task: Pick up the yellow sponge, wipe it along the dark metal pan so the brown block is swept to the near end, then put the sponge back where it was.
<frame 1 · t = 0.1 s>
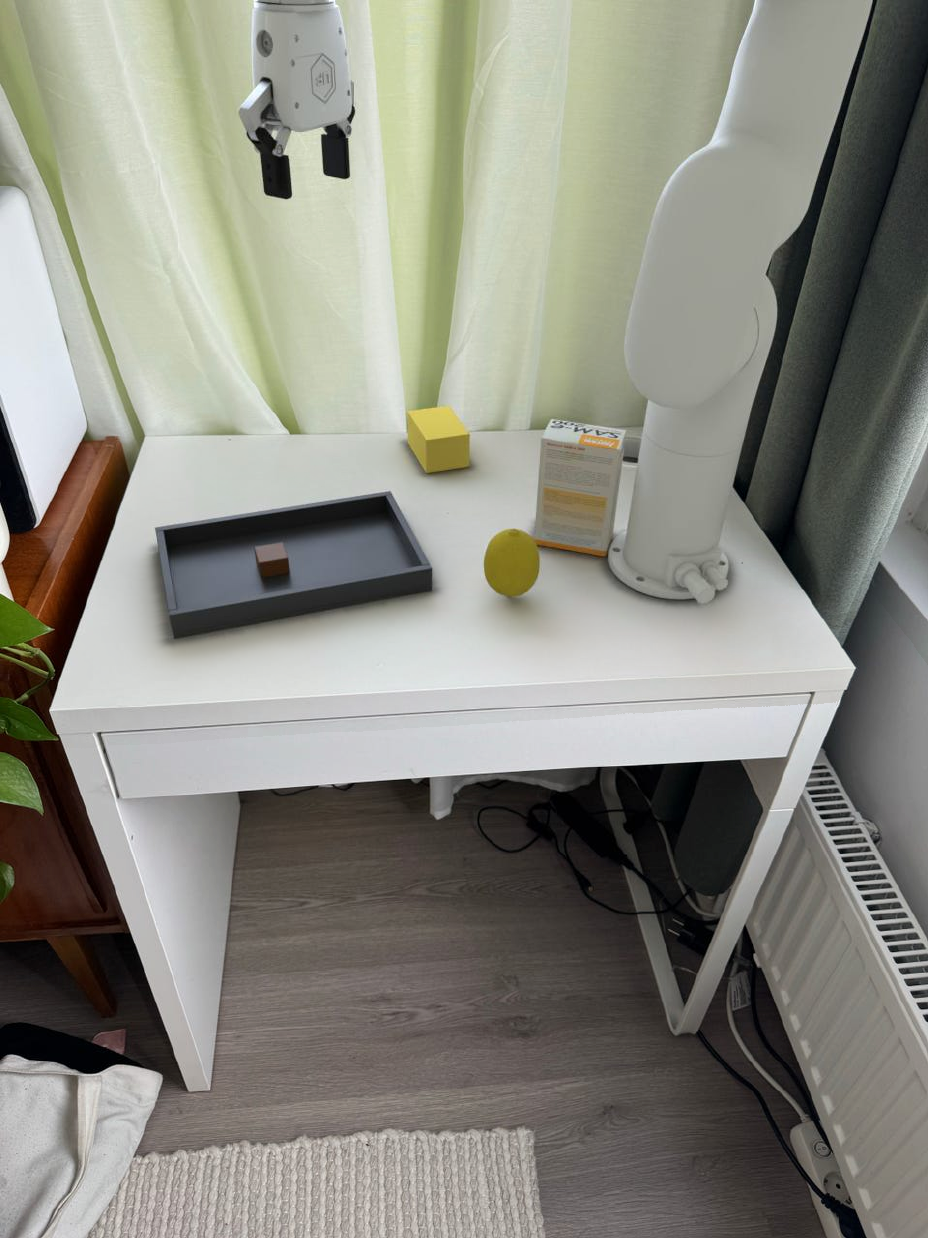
hand: (308, 186, 97), 31 cm above the table, tool pointing down, fingers open, 9 cm apart
brown block: (273, 568, 96), point 1 cm above the table, touching pan
supplement box: (572, 541, 102), on the table
pan: (292, 569, 97), on the table
lemon: (509, 597, 94), on the table
sponge: (437, 454, 117), on the table
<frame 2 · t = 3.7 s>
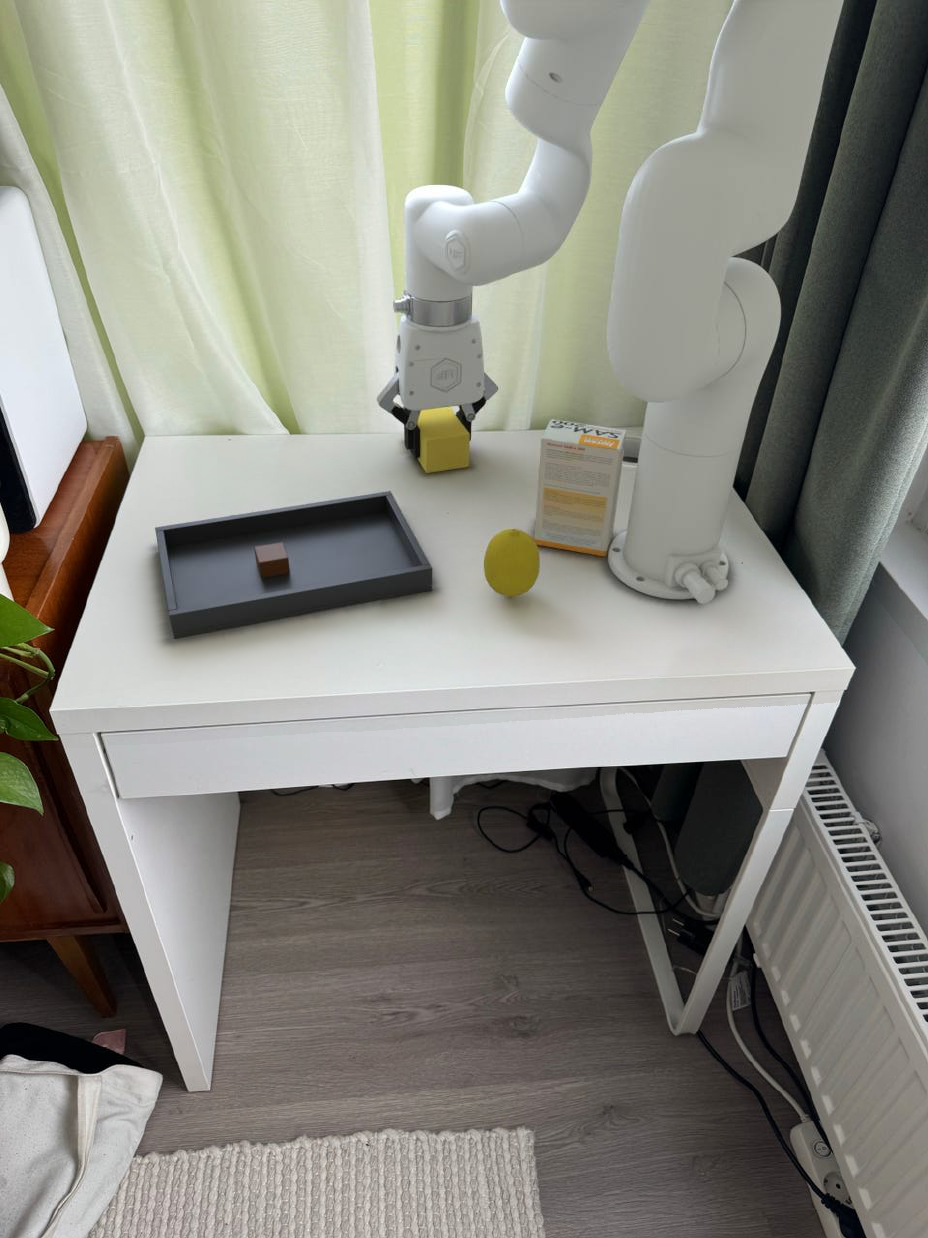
hand: (437, 448, 116), 1 cm above the table, tool pointing down, fingers closed on sponge, 5 cm apart
sponge: (437, 454, 117), on the table, touching gripper
everything else where it was.
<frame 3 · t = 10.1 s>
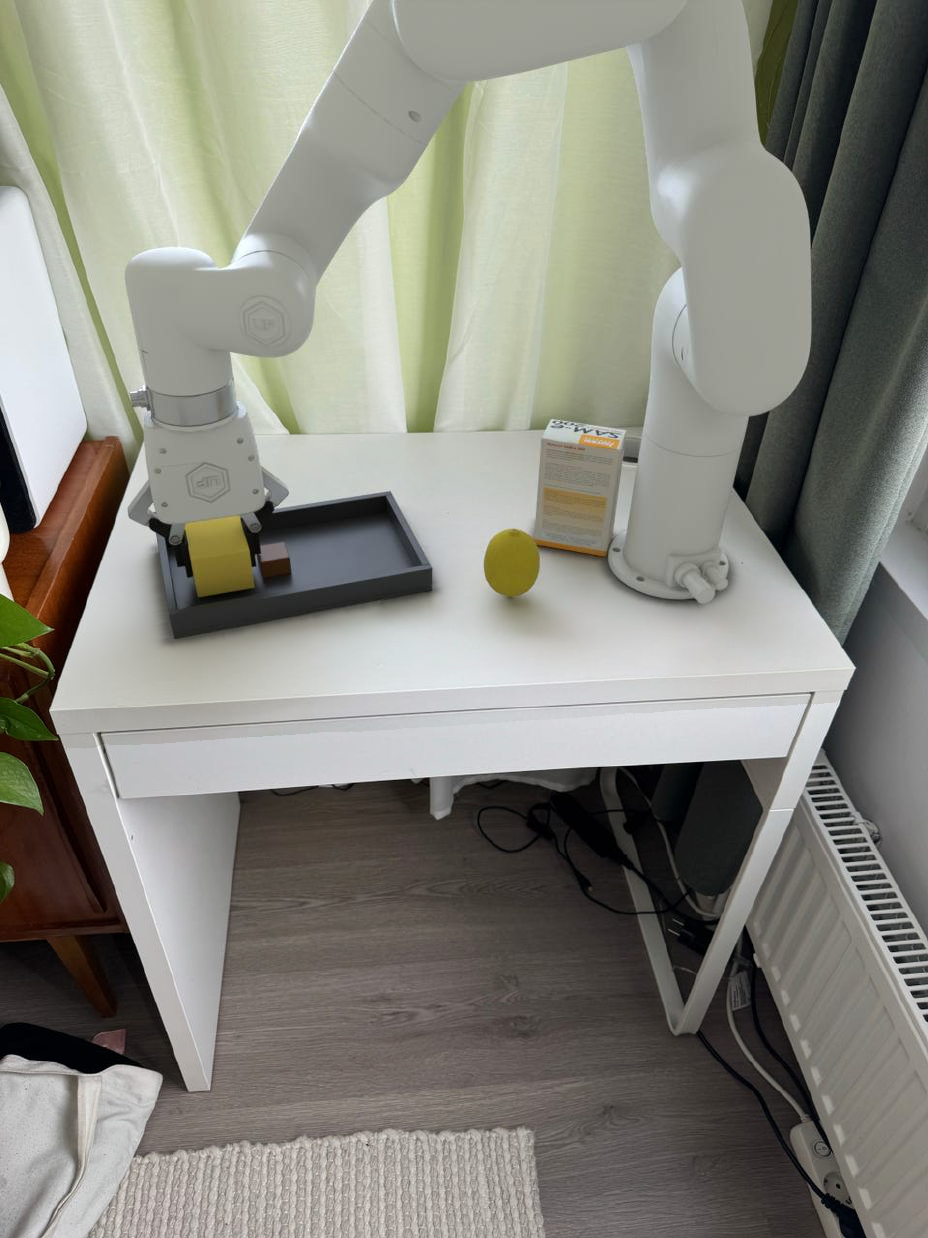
hand: (220, 563, 93), 2 cm above the table, tool pointing down, fingers closed on sponge, 5 cm apart
brown block: (274, 567, 96), point 1 cm above the table, touching gripper, pan
sponge: (221, 570, 94), point 1 cm above the table, touching gripper
everything else where it was.
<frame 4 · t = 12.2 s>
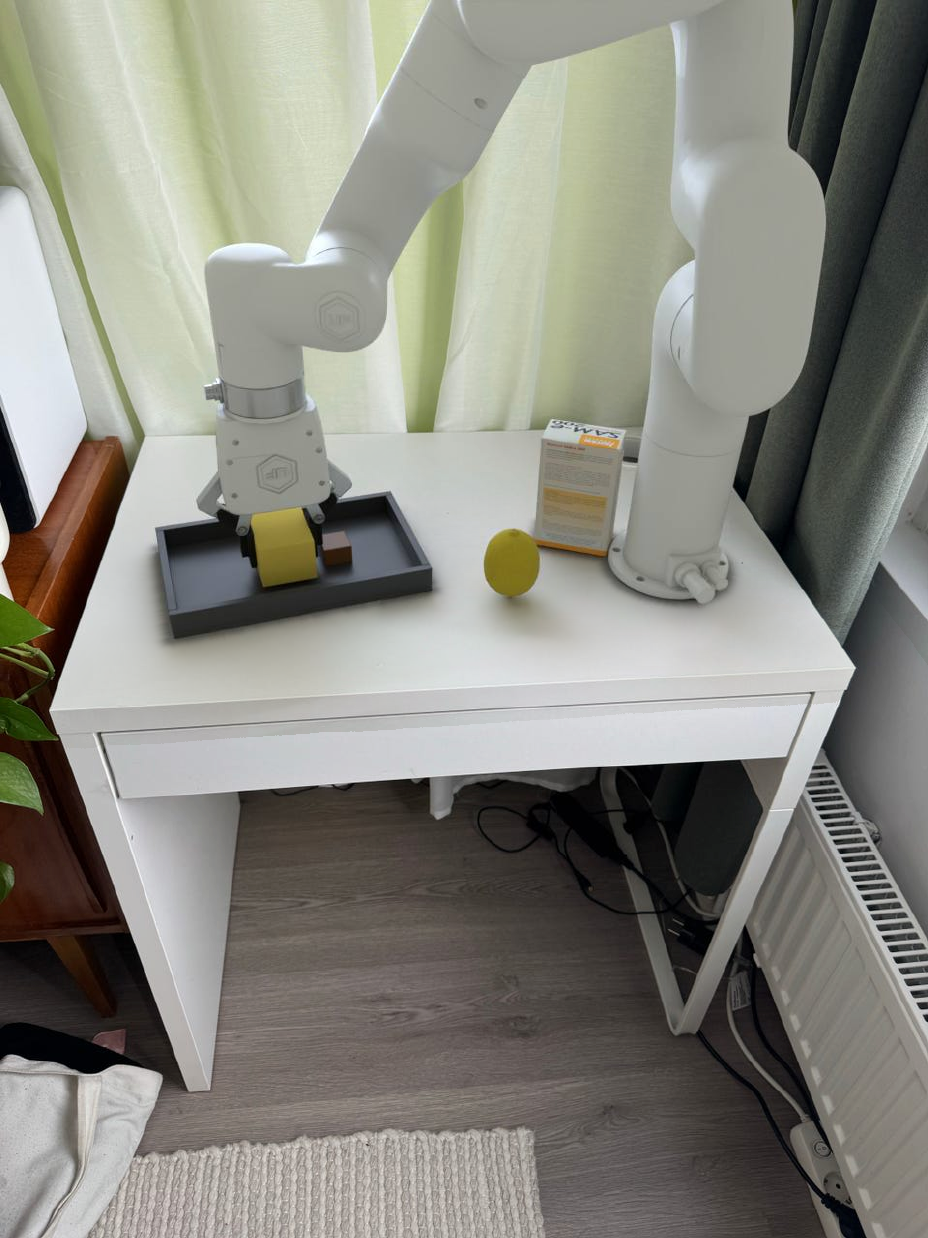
hand: (282, 553, 95), 2 cm above the table, tool pointing down, fingers closed on sponge, 5 cm apart
brown block: (335, 556, 98), point 1 cm above the table, touching gripper
sponge: (283, 560, 96), point 1 cm above the table, touching gripper
everything else where it was.
when the fingers open (1 cm above the table, at t = 21.1 s): sponge stays where it is, on the table.
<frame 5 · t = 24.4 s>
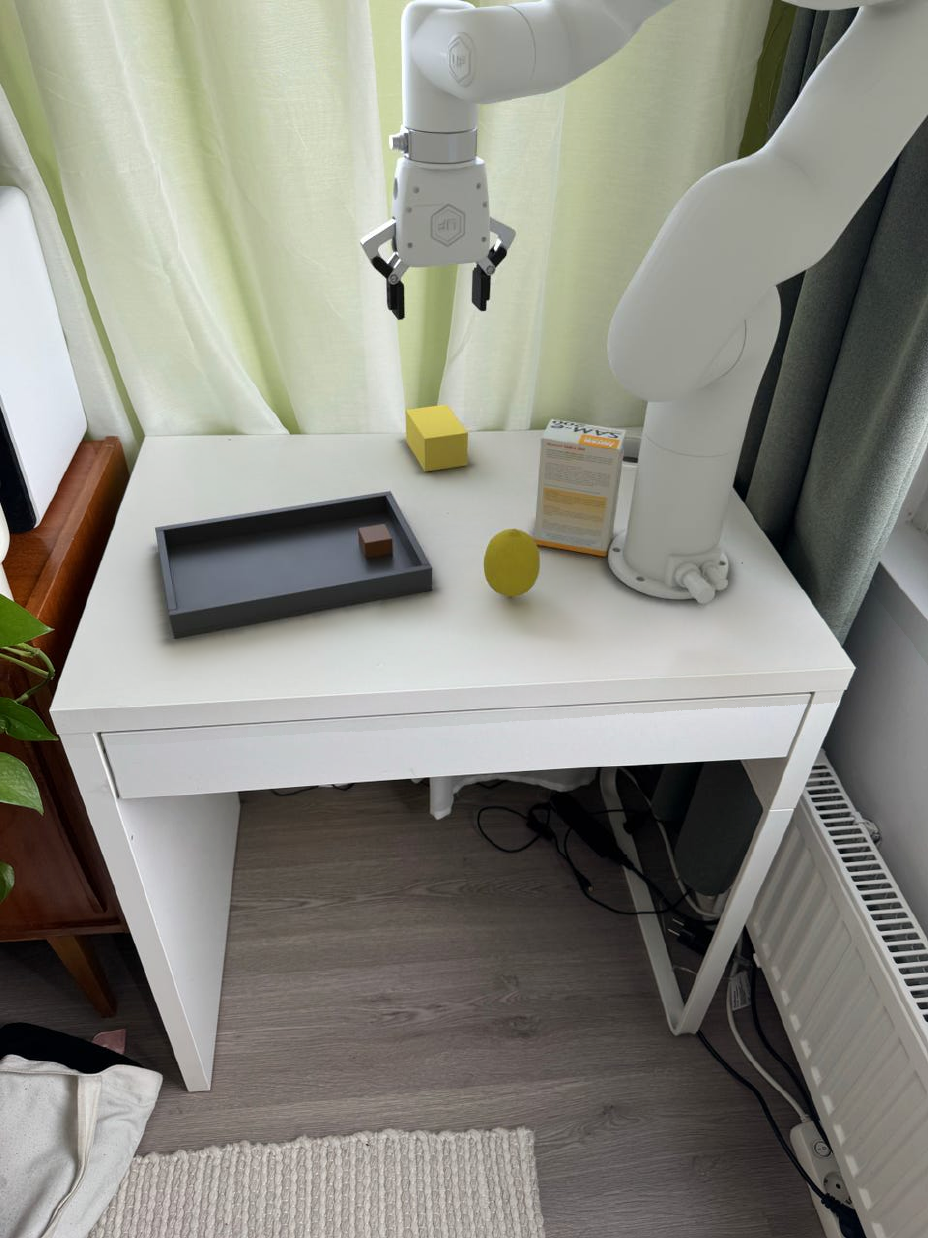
hand: (438, 311, 105), 18 cm above the table, tool pointing down, fingers open, 9 cm apart
brown block: (375, 548, 99), point 1 cm above the table, touching pan
sponge: (436, 453, 117), on the table
everything else where it was.
at the end: brown block inside the target area in the pan (0.6 cm from its centre), point 0.6 cm above the pan's base; sponge inside the target area (0.4 cm from its centre), on the table; the gripper is holding nothing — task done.
